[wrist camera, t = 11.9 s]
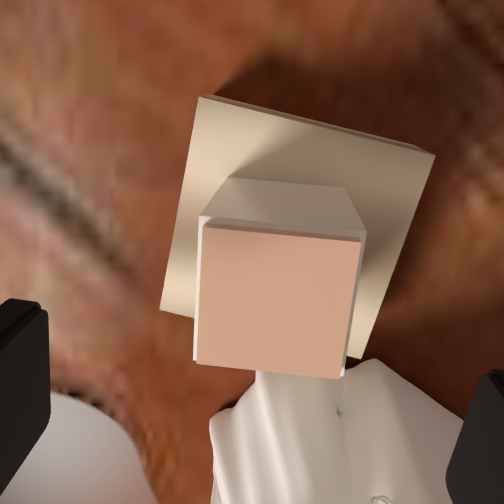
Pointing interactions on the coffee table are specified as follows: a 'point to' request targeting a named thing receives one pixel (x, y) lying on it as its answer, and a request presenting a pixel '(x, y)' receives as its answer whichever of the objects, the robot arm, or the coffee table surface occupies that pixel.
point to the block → (304, 172)
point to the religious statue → (333, 441)
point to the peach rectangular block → (277, 277)
